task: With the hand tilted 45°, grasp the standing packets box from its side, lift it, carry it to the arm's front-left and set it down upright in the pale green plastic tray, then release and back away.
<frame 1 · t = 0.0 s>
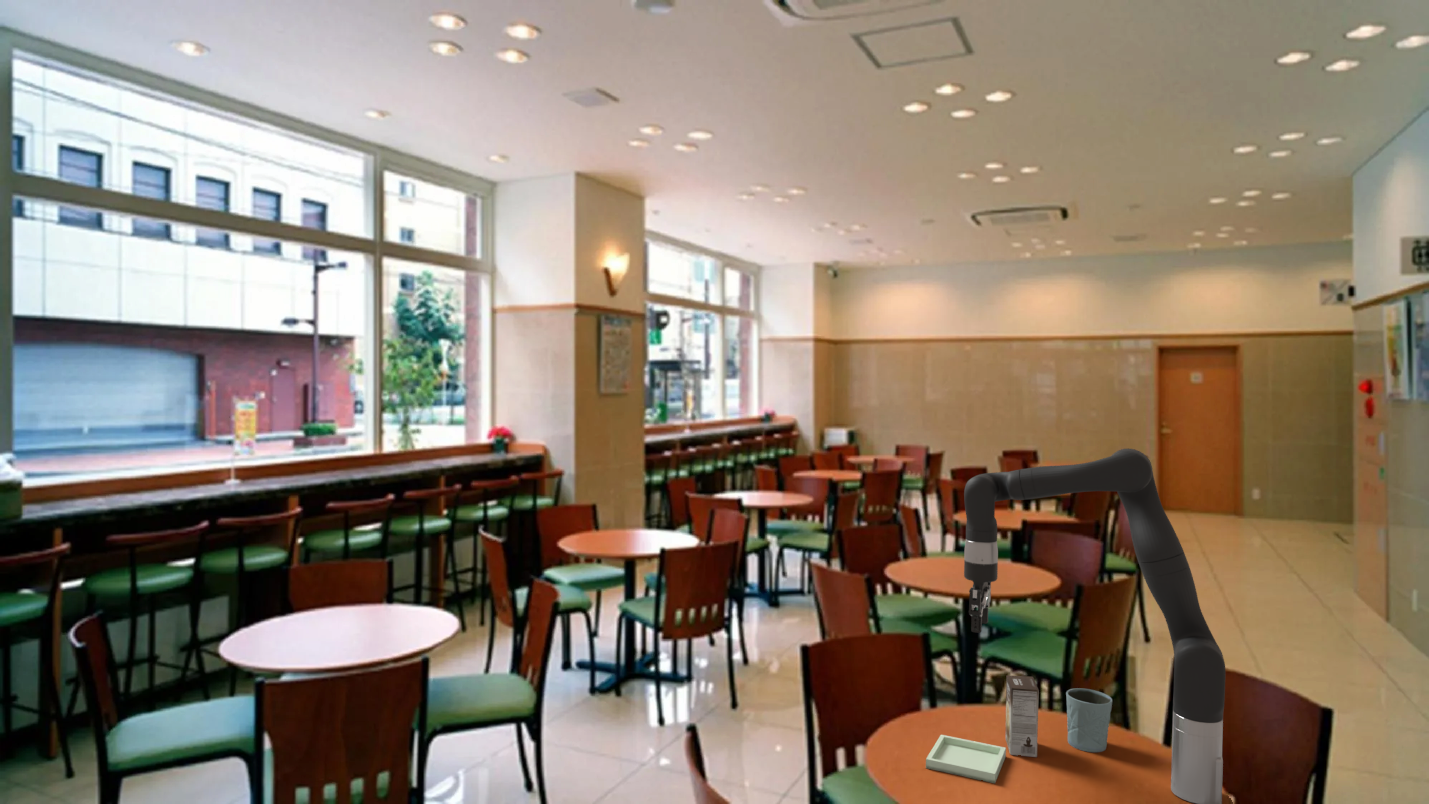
hand: (979, 627, 199), 29 cm above the table, tool pointing down, fingers open, 8 cm apart
tray: (966, 762, 194), on the table
coffee box: (1021, 749, 201), on the table
blue-grey cup: (1088, 745, 204), on the table
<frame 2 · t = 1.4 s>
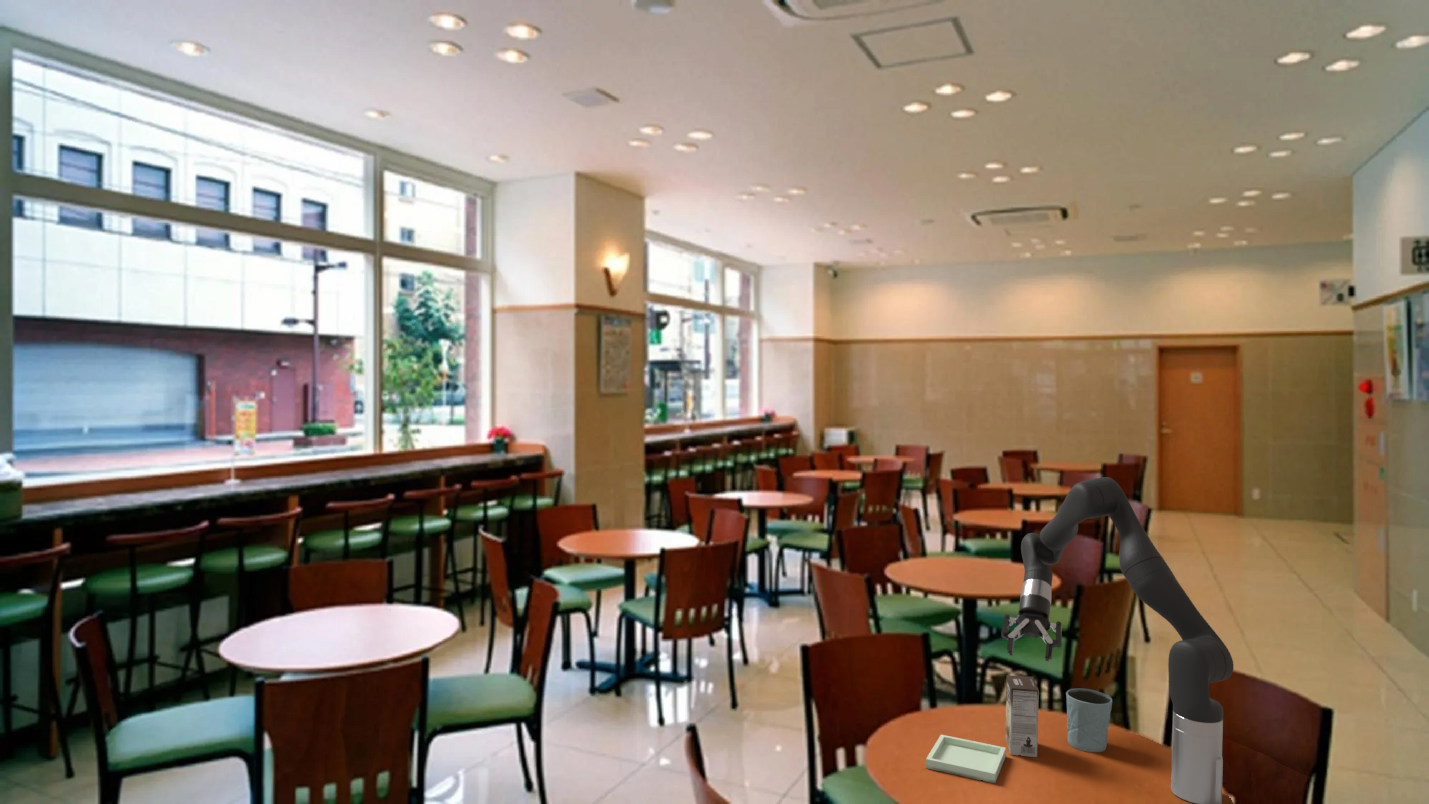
hand: (1028, 656, 211), 19 cm above the table, tool tilted 45°, fingers open, 8 cm apart
nothing on the table moved.
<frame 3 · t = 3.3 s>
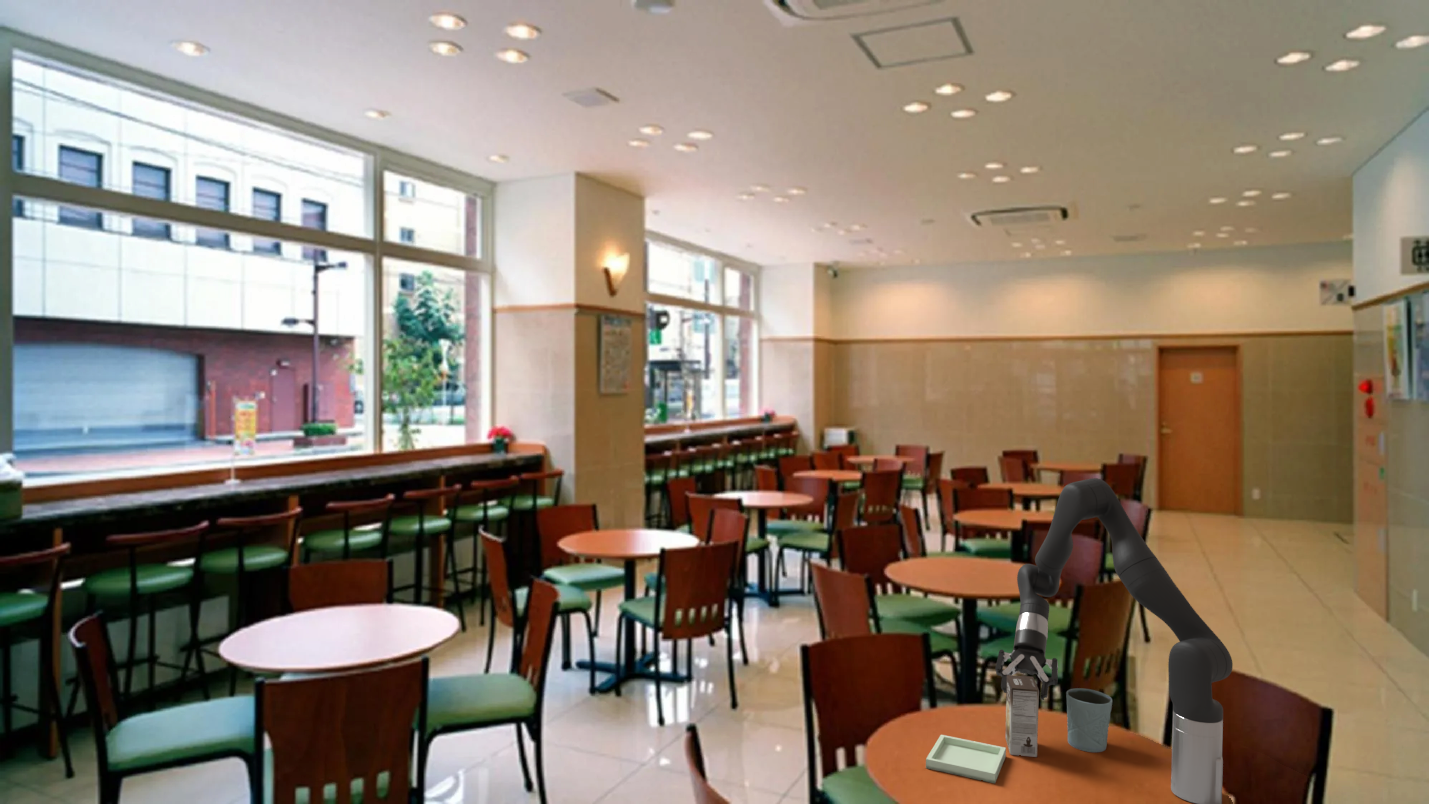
hand: (1023, 694, 204), 12 cm above the table, tool tilted 45°, fingers open, 8 cm apart
coffee box: (1021, 748, 201), on the table, touching gripper
everything else where it was.
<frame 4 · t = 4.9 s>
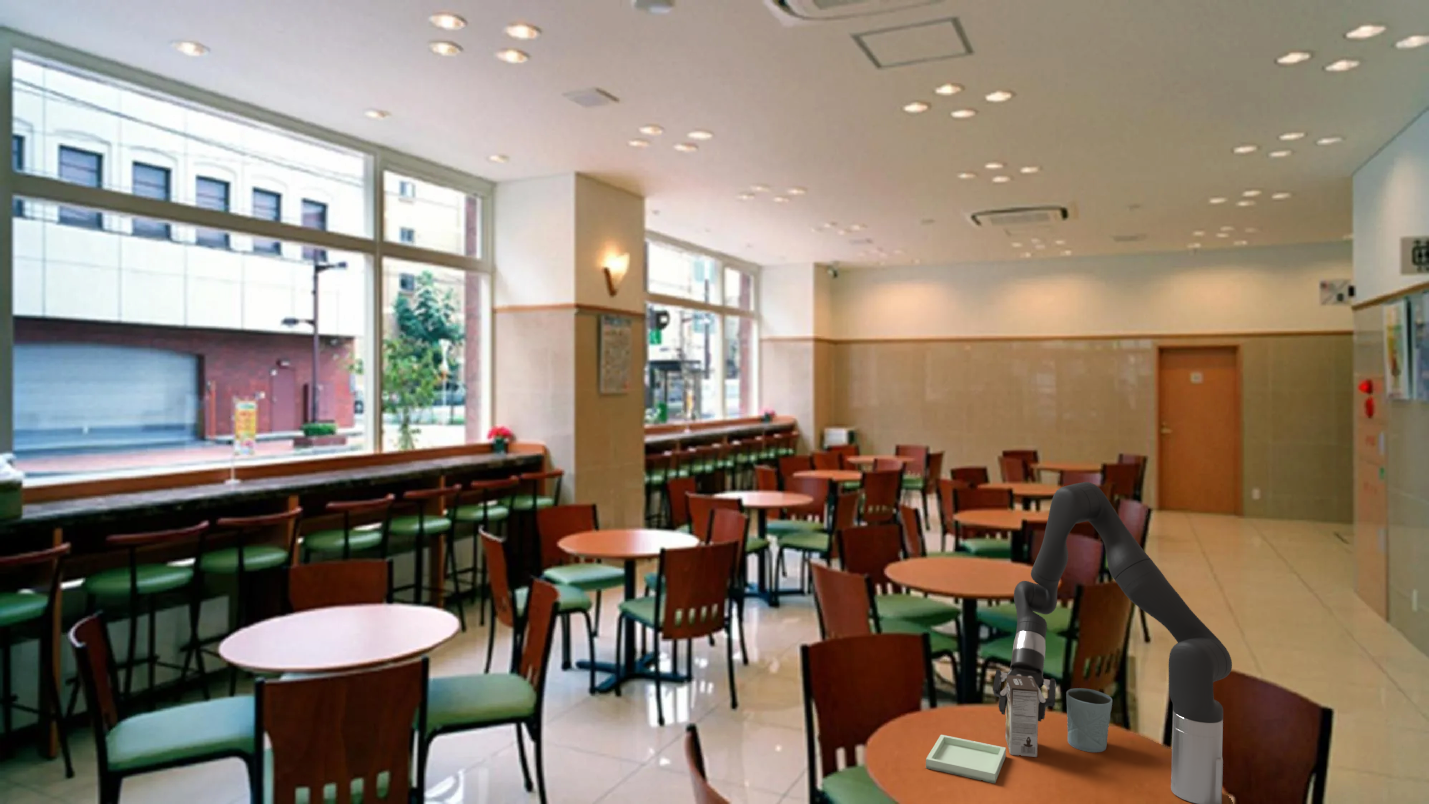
hand: (1020, 716, 200), 8 cm above the table, tool tilted 45°, fingers closed on coffee box, 7 cm apart
coffee box: (1021, 748, 201), on the table, touching gripper
everything else where it was.
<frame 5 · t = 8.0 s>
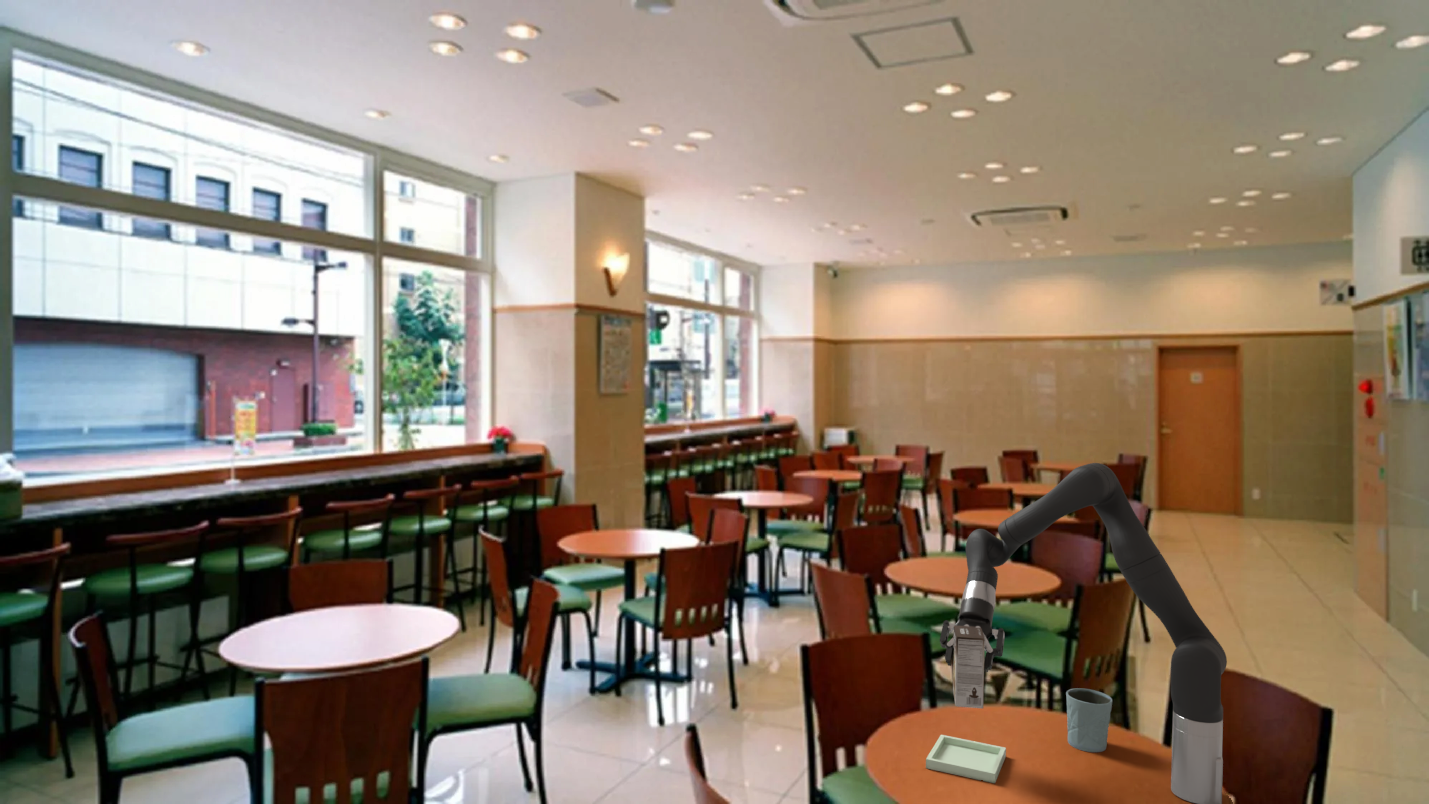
hand: (967, 667, 192), 22 cm above the table, tool tilted 45°, fingers closed on coffee box, 7 cm apart
coffee box: (967, 701, 193), point 14 cm above the table, touching gripper
everything else where it was.
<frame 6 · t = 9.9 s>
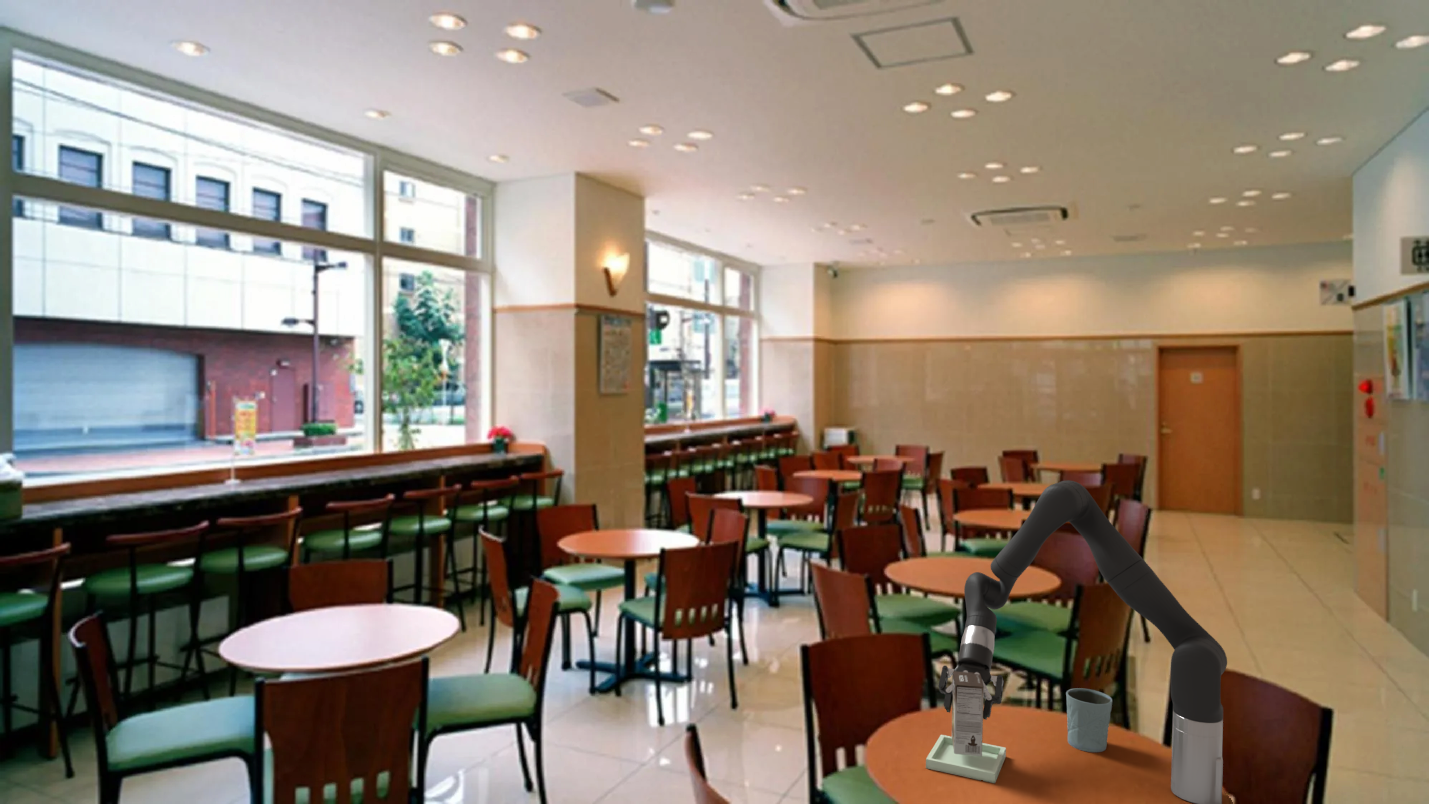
hand: (966, 714, 192), 12 cm above the table, tool tilted 45°, fingers closed on coffee box, 7 cm apart
coffee box: (966, 747, 194), point 3 cm above the table, touching gripper
everything else where it was.
when the fingers open (10 cm above the table, at t = 11.0 s): coffee box drops 1 cm, resting on tray.
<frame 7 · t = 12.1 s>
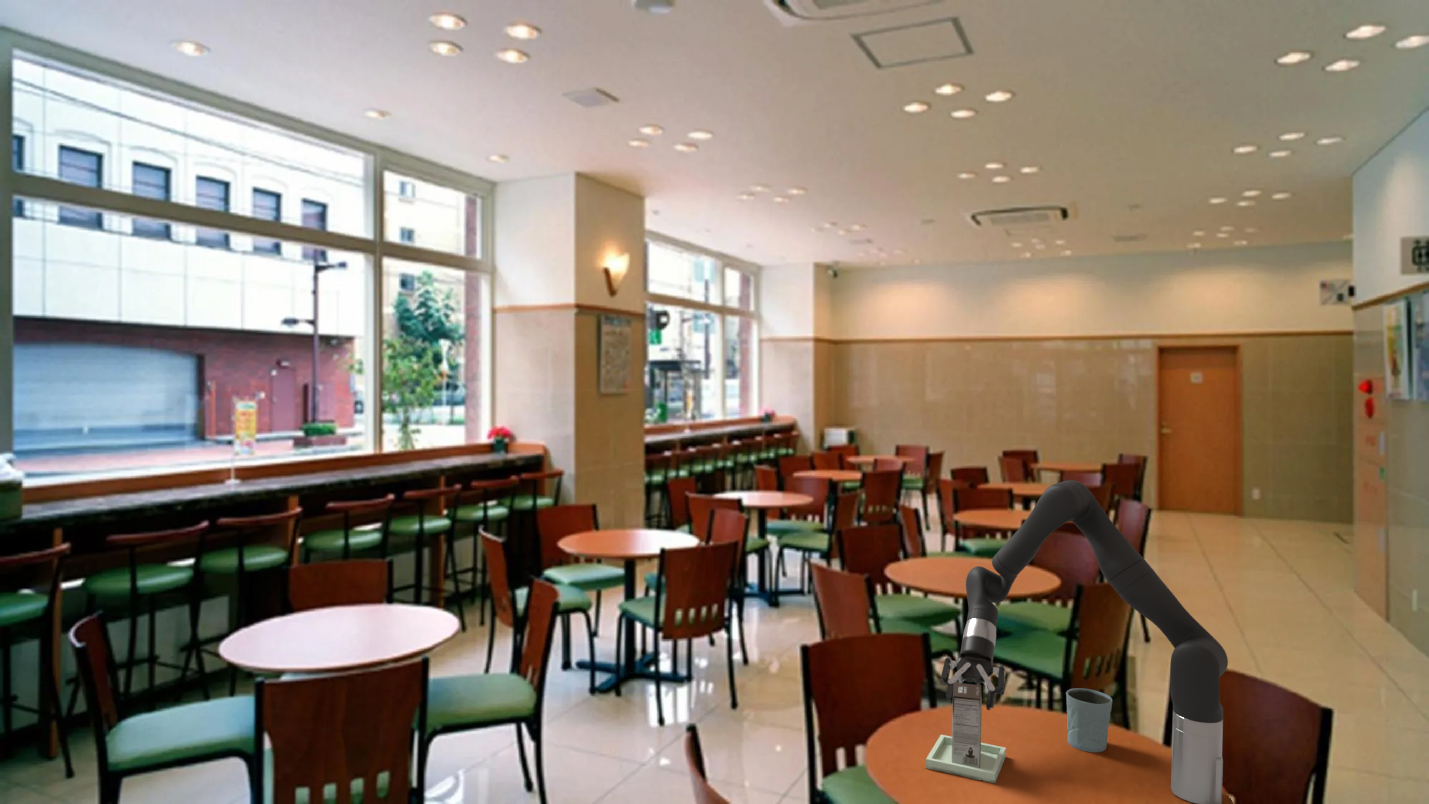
hand: (969, 705, 195), 13 cm above the table, tool tilted 45°, fingers open, 8 cm apart
coffee box: (965, 759, 194), resting on tray
everything else where it was.
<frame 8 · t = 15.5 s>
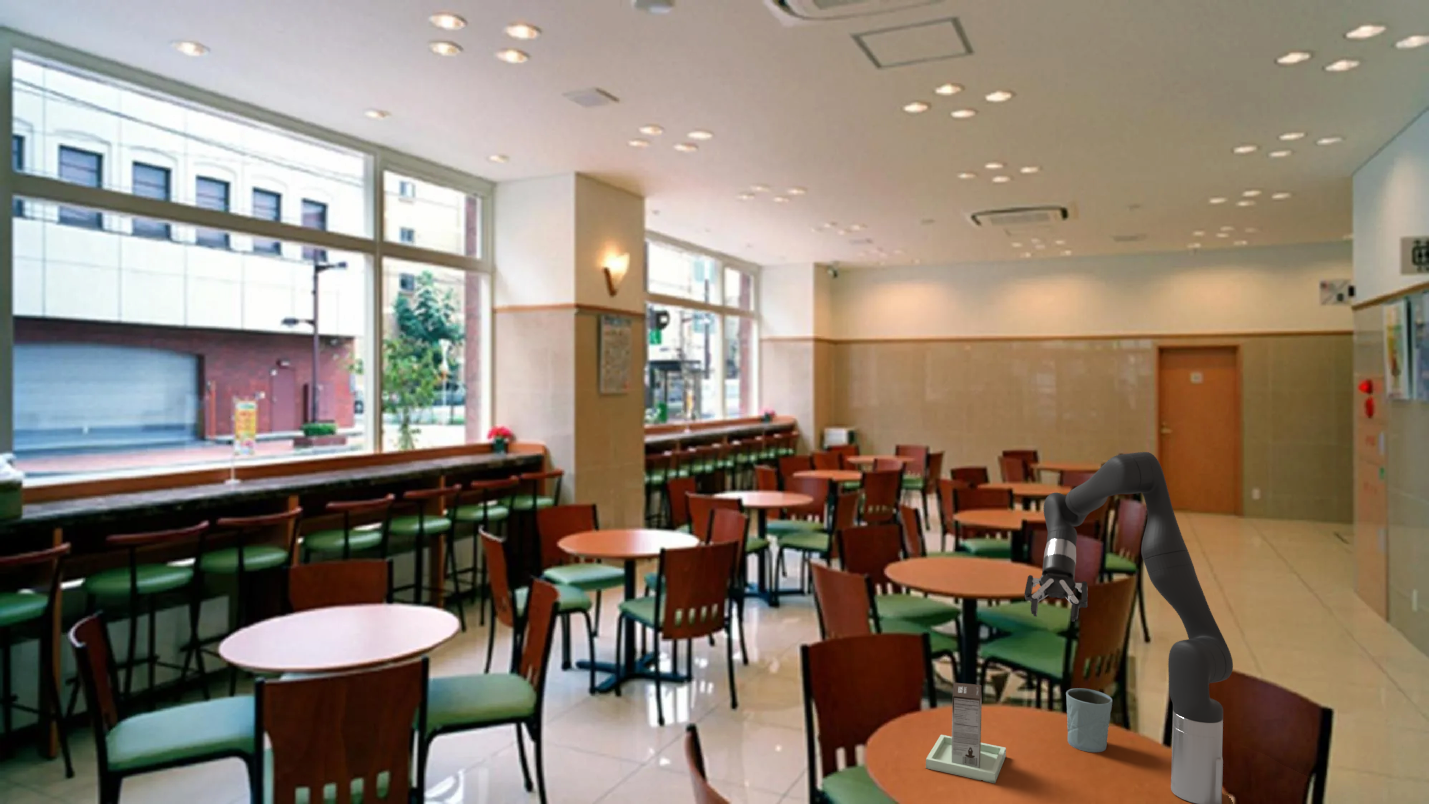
hand: (1053, 617, 204), 31 cm above the table, tool tilted 45°, fingers open, 8 cm apart
nothing on the table moved.
at the end: coffee box inside the target area on the tray (0.4 cm from its centre), point 0.4 cm above the tray's base; coffee box tilted 0°; the gripper is holding nothing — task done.
